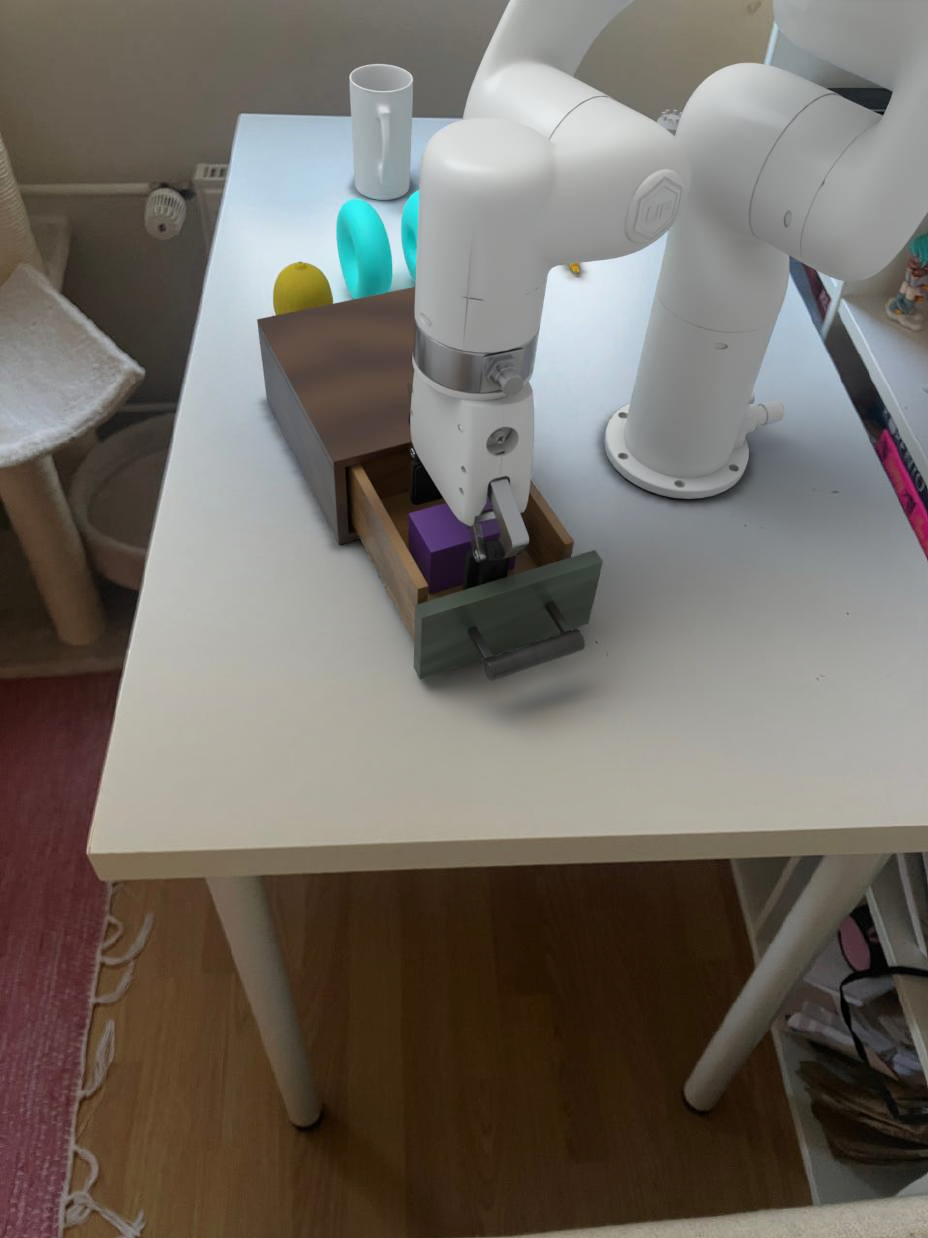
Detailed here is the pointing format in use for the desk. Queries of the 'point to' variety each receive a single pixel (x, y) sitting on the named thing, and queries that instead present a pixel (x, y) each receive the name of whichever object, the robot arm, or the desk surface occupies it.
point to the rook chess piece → (670, 120)
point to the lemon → (300, 289)
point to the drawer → (486, 614)
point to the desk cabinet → (341, 389)
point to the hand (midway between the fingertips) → (456, 541)
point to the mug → (381, 130)
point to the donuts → (373, 246)
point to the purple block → (444, 545)
